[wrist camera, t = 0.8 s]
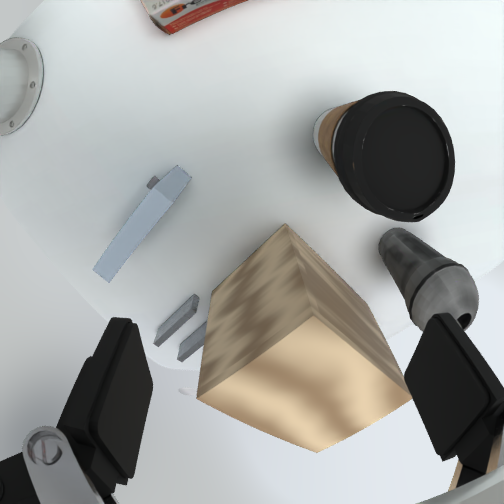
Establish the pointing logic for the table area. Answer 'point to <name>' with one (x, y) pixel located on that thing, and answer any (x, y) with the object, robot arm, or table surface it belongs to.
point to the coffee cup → (389, 154)
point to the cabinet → (296, 349)
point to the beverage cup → (428, 279)
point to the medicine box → (183, 12)
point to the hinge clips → (176, 322)
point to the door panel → (141, 221)
